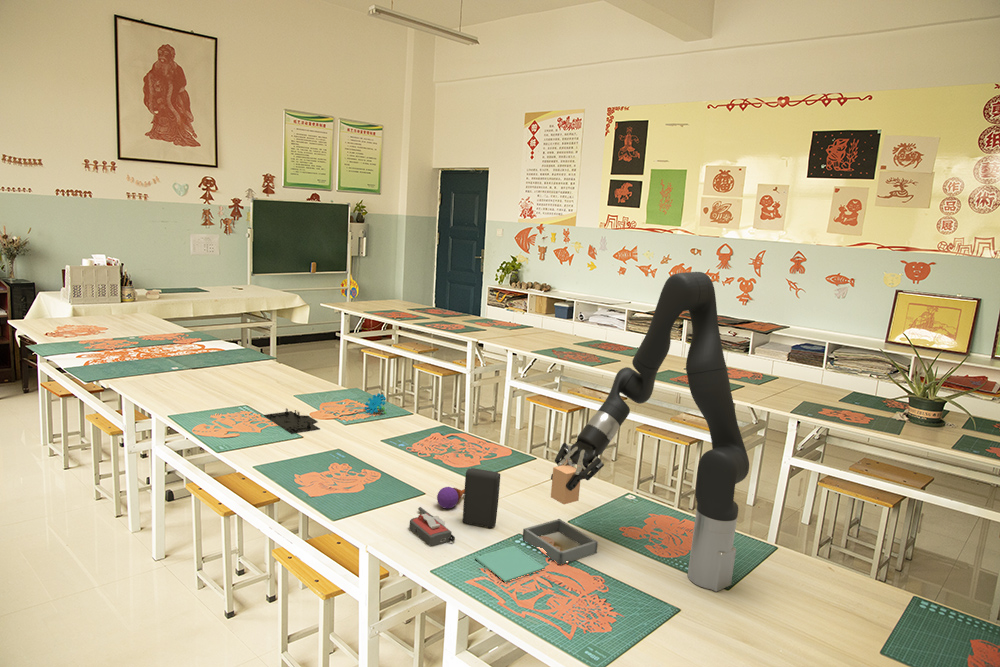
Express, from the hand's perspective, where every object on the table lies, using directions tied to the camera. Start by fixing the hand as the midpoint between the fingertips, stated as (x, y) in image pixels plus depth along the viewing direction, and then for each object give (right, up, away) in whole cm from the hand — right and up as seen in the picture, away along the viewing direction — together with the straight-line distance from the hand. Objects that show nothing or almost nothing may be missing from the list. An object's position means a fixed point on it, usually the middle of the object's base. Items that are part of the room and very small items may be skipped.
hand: (560, 484), depth 162 cm
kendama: (-26, -11, +28) cm, 40 cm away
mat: (-13, -18, -7) cm, 23 cm away
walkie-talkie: (-35, -14, +8) cm, 38 cm away
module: (+1, -4, +2) cm, 5 cm away
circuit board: (-94, +3, +85) cm, 127 cm away
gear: (-67, +5, +105) cm, 125 cm away
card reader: (-21, -14, +13) cm, 28 cm away
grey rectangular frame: (0, -17, +4) cm, 17 cm away
